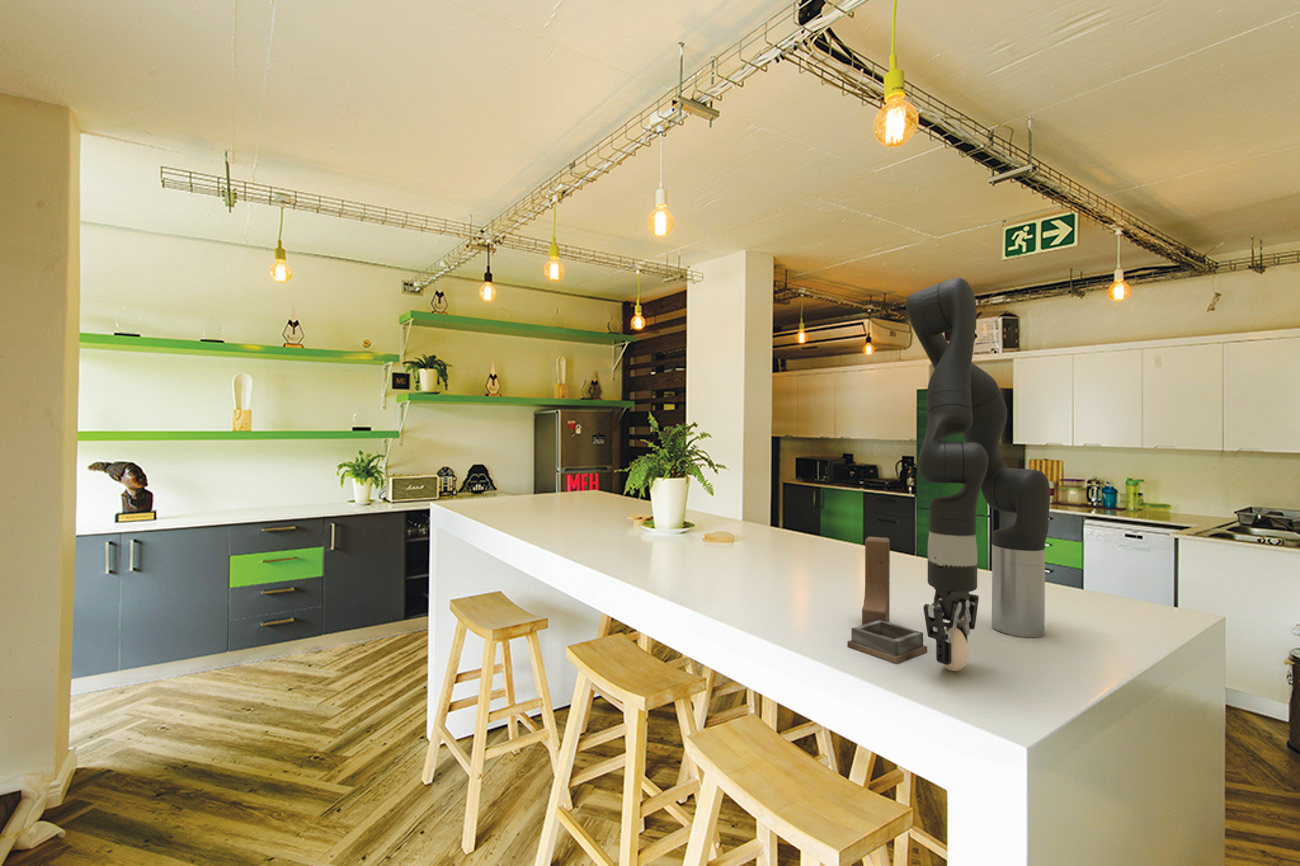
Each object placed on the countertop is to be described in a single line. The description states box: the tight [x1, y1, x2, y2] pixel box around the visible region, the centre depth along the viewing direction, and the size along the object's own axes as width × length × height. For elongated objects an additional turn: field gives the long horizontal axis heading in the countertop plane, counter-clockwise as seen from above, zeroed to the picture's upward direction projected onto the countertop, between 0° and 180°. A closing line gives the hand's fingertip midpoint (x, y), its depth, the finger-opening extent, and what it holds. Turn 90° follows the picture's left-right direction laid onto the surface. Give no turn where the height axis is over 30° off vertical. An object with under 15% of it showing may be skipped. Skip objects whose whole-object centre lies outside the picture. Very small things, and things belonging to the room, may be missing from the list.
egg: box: [942, 628, 970, 672], centre depth 99 cm, size 5×5×7 cm
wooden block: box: [861, 536, 891, 625], centre depth 122 cm, size 9×4×18 cm, turn 152°
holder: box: [846, 620, 928, 665], centre depth 109 cm, size 10×10×4 cm
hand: (951, 659), depth 99 cm, fingers closed on egg, 4 cm apart
